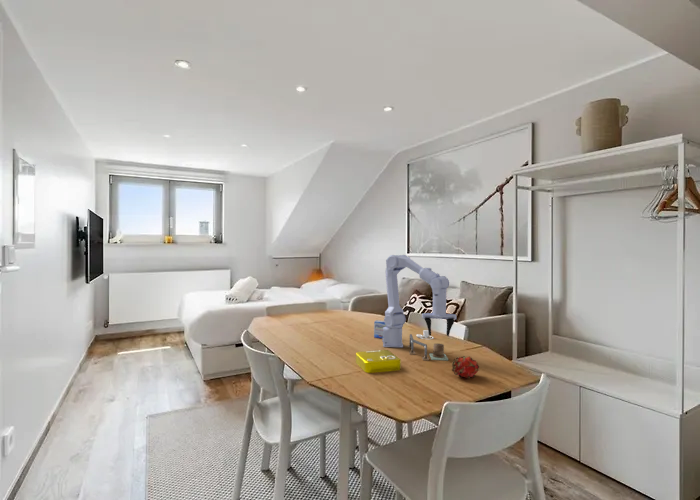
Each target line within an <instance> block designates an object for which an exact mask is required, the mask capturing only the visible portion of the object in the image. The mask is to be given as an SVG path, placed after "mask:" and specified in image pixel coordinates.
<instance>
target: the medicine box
mask: <svg viewBox="0 0 700 500" xmlns="http://www.w3.org/2000/svg"><path fill="white" fill-rule="evenodd" d="M383 327H386V325H385V323H384V320H381V319H380V320H379V319H376V320H374V323H373V338H374V339H383Z"/></svg>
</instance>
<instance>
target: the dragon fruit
mask: <svg viewBox="0 0 700 500" xmlns="http://www.w3.org/2000/svg"><path fill="white" fill-rule="evenodd" d="M451 367H452V368H451V371H452V372H453V373H454V375H455V376H458V377H459V378H463V377H464V378H465V379H470V378H472V379H473V378H475V377H476V374H477V373H478V371H480V366H479V364H478V362H477V360H476V359H473V358H472V356H467V357H466V356H465V355H463V356H456V357H455V359H453V361H452V364H451Z"/></svg>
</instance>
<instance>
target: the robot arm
mask: <svg viewBox="0 0 700 500" xmlns="http://www.w3.org/2000/svg"><path fill="white" fill-rule="evenodd" d="M385 264H386V268H385V283H386V294H387V304H388V305H387V306H388V307H387V308H386V310H385V311H384V318H383V321H384V323H385V325H386V327H383V338H382V347H383V348H404V344H403V327H404V324H405V323H406V315H405V314H404V313H405V312H404V309H403V308H402V307H401V306H400V294H399V283H398V274H399V273H400V272H401V271H402V270H404V269H406V268H407V269H408V270H411V271H413V272H415V273H416V274H417V275H418V276H419V278H420V280H422V281H423V282H426V283H427V284H429V286H430V288H431V291H432V312H431V313H430V312H427V313H425V312H424V313H421V318H422V319H424V322H425V324H426V326H427V327H426V328H427V330H428V332H429V336H432V320H433V319H439V320H446V336H447V337H449V336H450V333H451V329H452V327H453V325H454V323H455V320H457V314H454V313H447V289H448V288H449V286H450V280H449V279H448V278H447V276H446V275H445V276H444V275H441V274H440V273H438V272H435V271H433V269H432V268H431V267H422V266H421V265H420V264H418V263H417V262H415V261H414V260H413V259H411V257H410V256H407V255H405V254H396V255H395V254H390V255H389V256H388V257H387V259H386V260H385Z"/></svg>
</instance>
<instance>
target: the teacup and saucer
mask: <svg viewBox="0 0 700 500" xmlns="http://www.w3.org/2000/svg"><path fill="white" fill-rule="evenodd" d="M422 333H423V335H422V334H421V333H420V334H418V333H417V334H415V335H416V336H415V337H417V338H420V339H422V340H424V339H429V338H430V340H433V339H435V338H434V336H432V335H429V332H428V329H423V330H422ZM431 337H432V338H431Z"/></svg>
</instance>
